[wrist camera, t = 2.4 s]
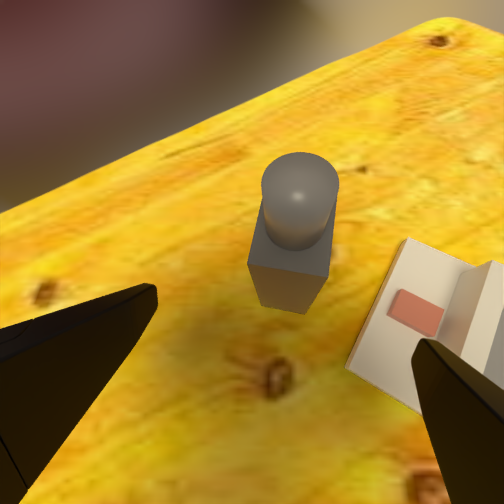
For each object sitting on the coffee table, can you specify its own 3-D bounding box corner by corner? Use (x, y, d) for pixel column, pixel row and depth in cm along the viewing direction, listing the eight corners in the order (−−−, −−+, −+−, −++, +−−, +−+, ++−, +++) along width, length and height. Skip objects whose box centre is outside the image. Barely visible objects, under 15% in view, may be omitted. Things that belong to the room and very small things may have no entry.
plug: (304, 314, 20) (346, 248, 8) (261, 305, 20) (236, 232, 8) (312, 261, 21) (356, 137, 9) (271, 254, 22) (263, 130, 10)
